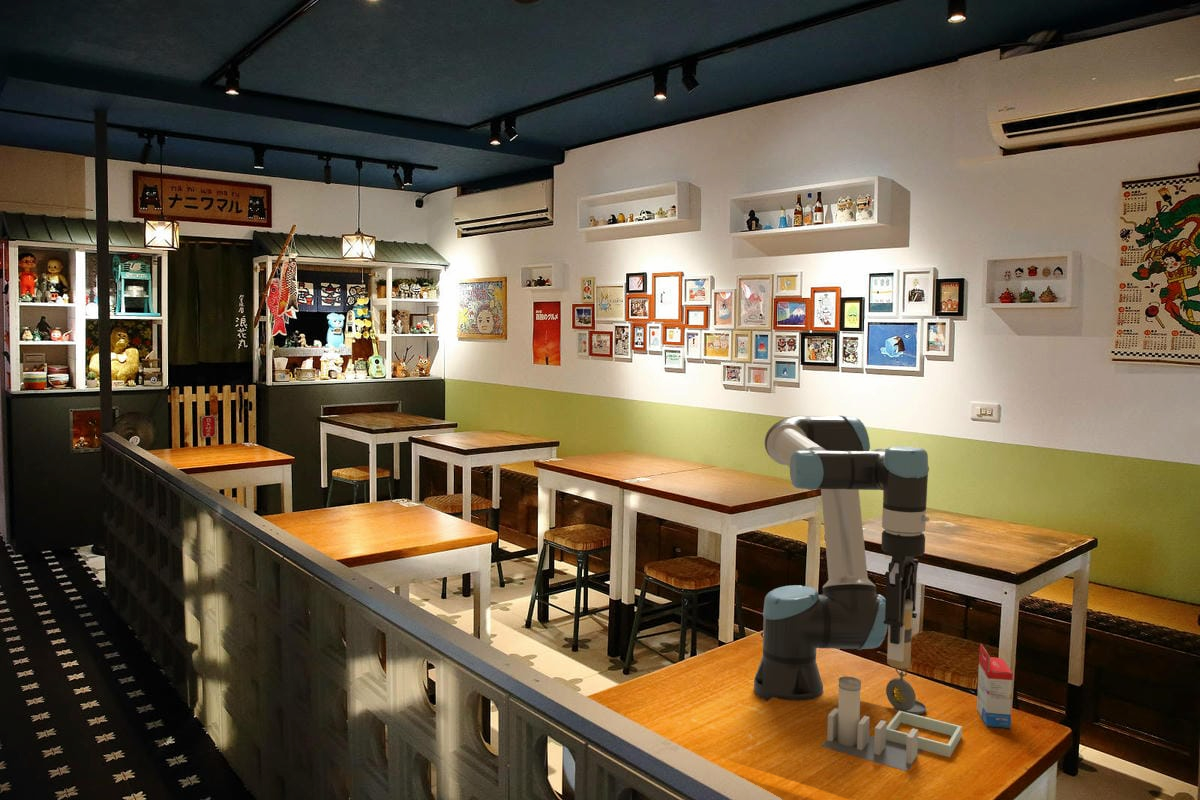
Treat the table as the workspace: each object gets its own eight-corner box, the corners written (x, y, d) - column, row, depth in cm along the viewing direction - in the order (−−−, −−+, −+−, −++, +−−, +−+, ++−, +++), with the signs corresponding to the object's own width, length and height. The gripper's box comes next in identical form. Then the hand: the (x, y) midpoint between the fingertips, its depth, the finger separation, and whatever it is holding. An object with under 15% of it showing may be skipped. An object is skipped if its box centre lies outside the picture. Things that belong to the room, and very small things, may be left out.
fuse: (833, 742, 162) (835, 681, 161) (841, 734, 165) (842, 674, 164) (855, 748, 160) (857, 686, 159) (861, 740, 163) (863, 679, 162)
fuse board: (820, 753, 160) (821, 720, 160) (838, 733, 169) (839, 702, 168) (907, 779, 151) (908, 744, 151) (921, 757, 160) (922, 723, 159)
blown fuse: (884, 665, 156) (886, 601, 155) (890, 658, 159) (892, 596, 158) (907, 670, 153) (909, 605, 152) (913, 663, 157) (915, 600, 156)
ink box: (1011, 729, 172) (1014, 659, 171) (985, 726, 173) (988, 656, 172) (1000, 711, 180) (1003, 644, 179) (975, 709, 181) (978, 642, 180)
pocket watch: (925, 705, 182) (927, 660, 182) (927, 722, 174) (928, 675, 174) (885, 700, 185) (887, 655, 184) (885, 716, 177) (886, 669, 176)
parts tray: (884, 746, 164) (884, 728, 163) (898, 727, 172) (899, 710, 171) (949, 764, 157) (950, 746, 156) (961, 744, 165) (961, 726, 165)
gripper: (912, 543, 145) (907, 675, 147) (936, 525, 159) (931, 646, 161) (868, 537, 150) (864, 665, 151) (895, 520, 164) (891, 638, 165)
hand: (898, 655), depth 156 cm, fingers closed on blown fuse, 4 cm apart
